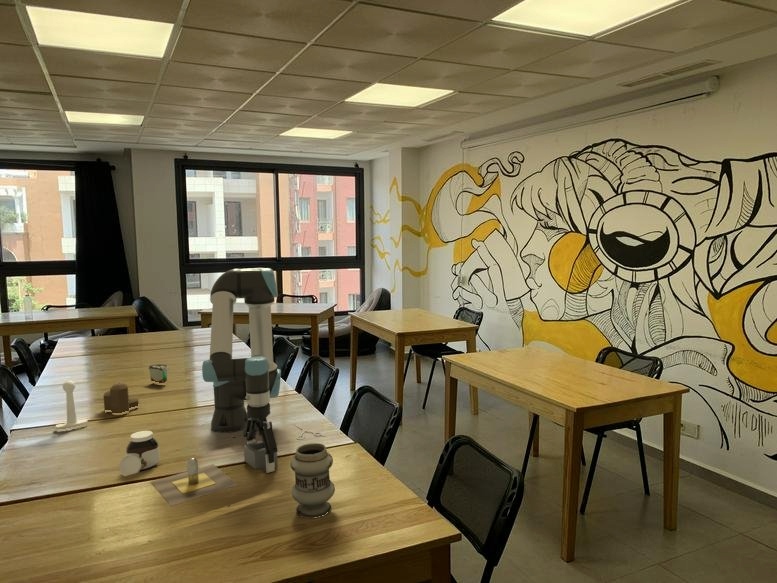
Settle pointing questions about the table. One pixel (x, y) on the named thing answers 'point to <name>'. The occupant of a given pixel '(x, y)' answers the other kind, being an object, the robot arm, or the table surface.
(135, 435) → the spread jar
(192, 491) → the base plate
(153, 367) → the food container
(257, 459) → the collar
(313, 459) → the apothecary jar
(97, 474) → the table surface
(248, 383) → the robot arm
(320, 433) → the scissors
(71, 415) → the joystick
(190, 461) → the steel post
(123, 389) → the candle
